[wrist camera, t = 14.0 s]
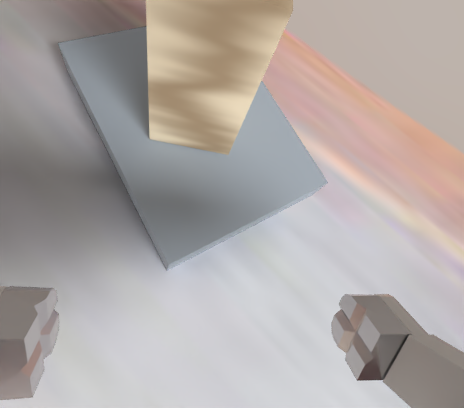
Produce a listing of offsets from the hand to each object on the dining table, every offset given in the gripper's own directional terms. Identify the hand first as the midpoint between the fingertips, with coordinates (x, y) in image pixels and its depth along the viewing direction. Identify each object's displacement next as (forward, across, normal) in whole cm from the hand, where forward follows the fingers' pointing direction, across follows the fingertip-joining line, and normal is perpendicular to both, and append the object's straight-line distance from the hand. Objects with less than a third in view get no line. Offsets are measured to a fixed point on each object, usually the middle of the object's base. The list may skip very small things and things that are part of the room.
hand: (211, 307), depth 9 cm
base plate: (+16, 0, -1) cm, 16 cm away
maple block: (+14, 0, -3) cm, 15 cm away
